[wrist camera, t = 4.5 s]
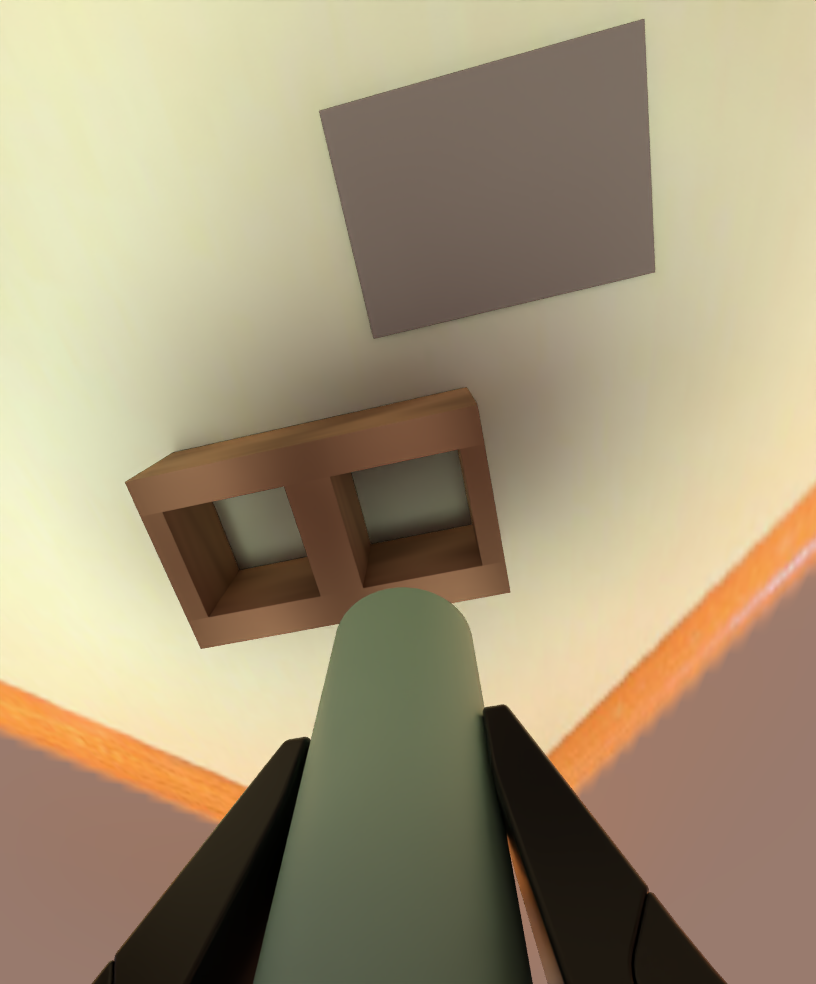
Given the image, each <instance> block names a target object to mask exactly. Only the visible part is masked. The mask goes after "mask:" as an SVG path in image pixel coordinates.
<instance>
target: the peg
mask: <svg viewBox="0 0 816 984" xmlns="http://www.w3.org/2000/svg"><path fill="white" fill-rule="evenodd" d="M483 709H484V702H483V697H482V691H481V685H480V680H479V674H478V668H477V662H476V657H475V651H474V645H473V640H472V634H471V631H470V628H469V625H468V623H467V621H466V620H465V618H464V617H463V615H462V614H461V612H460V611H459V610H458V609H457V608H456V607H455V606H454V605H452V604H451V603H450V602H449V601H447V600H446V599H444V598H443V597H441V596H439V595H436V594H434V593H432V592H429V591H426V590H422V589H417V588H408V587H397V588H389V589H385V590H381V591H377V592H375V593H372V594H370V595H368V596H366V597H364V598H362V599H361V600H359V601H358V602H356V603H355V604H354V605H353V606H352V607H351V608H350V609H349V610H348V611H347V612H346V614H345V615H344V616H343V618H342V620H341V621H340V624H339V626H338V628H337V632H336V636H335V641H334V645H333V649H332V653H331V657H330V662H329V666H328V670H327V674H326V678H325V683H324V687H323V691H322V695H321V699H320V704H319V708H318V712H317V716H316V720H315V725H314V729H313V733H312V737H311V741H310V746H309V750H308V754H307V758H306V762H305V767H304V771H303V775H302V779H301V783H300V788H299V792H298V796H297V800H296V804H295V809H294V813H293V817H292V821H291V825H290V830H289V834H288V838H287V842H286V846H285V851H284V855H283V859H282V863H281V867H280V872H279V876H278V880H277V884H276V888H275V893H274V897H273V901H272V905H271V909H270V914H269V918H268V922H267V926H266V930H265V935H264V939H263V943H262V947H261V951H260V956H259V960H258V964H257V968H256V972H255V977H254V981H253V984H533V982H532V977H531V971H530V965H529V959H528V954H527V948H526V942H525V937H524V931H523V925H522V919H521V914H520V908H519V902H518V897H517V891H516V886H515V879H514V874H513V868H512V862H511V857H510V851H509V845H508V839H507V834H506V828H505V824H504V820H503V816H502V812H501V808H500V805H499V801H498V796H497V792H496V787H495V783H494V778H493V774H492V769H491V764H490V758H489V752H488V745H487V739H486V732H485V726H484V720H483Z"/></svg>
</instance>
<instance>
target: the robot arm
mask: <svg viewBox="0 0 816 984" xmlns="http://www.w3.org/2000/svg"><path fill="white" fill-rule="evenodd" d="M483 720H484V726H485V732H486V739H487V745H488V752H489V758H490V764H491V769H492V774H493V778H494V783H495V787H496V792H497V796H498V801H499V805H500V808H501V812H502V816H503V820H504V824H505V828H506V834H507V839H508V845H509V850H510V855H511V859H512V863H513V866H514V870H515V874H516V877H517V881H518V884H519V888H520V891H521V895H522V898H523V901H524V905H525V908H526V911H527V915H528V918H529V922H530V925H531V928H532V932H533V935H534V939H535V942H536V946H537V949H538V952H539V956H540V959H541V962H542V966H543V969H544V973H545V976H546V980H547V983H548V984H727V983H726V982H725V980H724V979H723V978H722V977H721V976H720V975H719V974H718V972H717V971H716V970H715V969H714V968H713V967H712V966H711V964H710V963H709V962H708V961H707V959H706V958H705V957H704V956H703V955H702V953H701V952H700V951H699V950H698V948H697V947H696V946H695V945H694V944H693V942H692V941H691V940H690V939H689V937H688V936H687V935H686V934H685V933H684V931H683V930H682V929H681V928H680V927H679V925H678V924H677V923H676V921H675V920H674V919H673V918H672V916H671V915H670V914H669V913H668V911H667V910H666V909H665V907H664V906H663V905H662V903H661V902H660V901H659V900H658V898H657V897H656V896H655V895H654V893H651V892H649V889H648V886H647V885H646V883H645V882H644V881H643V880H642V878H641V877H640V876H639V874H638V873H637V872H636V871H635V869H634V868H633V867H632V865H631V864H630V863H629V862H628V860H627V859H626V858H625V856H624V855H623V854H622V853H621V851H620V850H619V849H618V847H617V846H616V845H615V844H614V843H613V841H612V840H611V839H610V837H609V836H608V835H607V833H606V832H605V831H604V829H603V828H602V827H601V826H600V824H599V823H598V822H597V820H596V819H595V818H594V817H593V815H592V814H591V813H590V811H589V810H588V809H587V808H586V806H585V805H584V804H583V802H582V801H581V800H580V799H579V797H578V796H577V795H576V793H575V792H574V791H573V790H572V788H571V787H570V786H569V784H568V783H567V782H566V781H565V779H564V778H563V777H562V775H561V774H560V773H559V772H558V770H557V769H556V768H555V766H554V765H553V764H552V763H551V761H550V760H549V759H548V757H547V756H546V755H545V754H544V752H543V751H542V750H541V748H540V747H539V746H538V745H537V743H536V742H535V741H534V739H533V738H532V737H531V736H530V734H529V733H528V732H527V730H526V729H525V728H524V727H523V725H522V724H521V723H520V721H519V720H518V719H517V718H516V716H515V715H514V714H513V712H512V711H511V710H510V709H509V707H507V706H506V705H497V706H490V707H485V708H484V709H483ZM310 741H311V740H310V739H309V738H308V737H301V738H295V739H289V740H287V741H285V742H284V743H283V744H282V745H281V746H280V748H279V749H278V750H277V751H276V753H275V754H274V755H273V756H272V758H271V759H270V760H269V761H268V763H267V764H266V765H265V766H264V768H263V769H262V770H261V772H260V773H259V774H258V775H257V777H256V778H255V779H254V780H253V782H252V783H251V784H250V785H249V787H248V788H247V789H246V790H245V792H244V793H243V794H242V795H241V797H240V798H239V799H238V800H237V802H236V803H235V804H234V805H233V807H232V808H231V809H230V811H229V812H228V813H227V814H226V816H225V817H224V818H223V819H222V821H221V822H220V823H219V824H218V826H217V827H216V828H215V829H214V831H213V832H212V833H211V835H210V836H209V837H208V838H207V840H206V841H205V842H204V843H203V845H202V846H201V847H200V848H199V850H198V851H197V852H196V853H195V855H194V856H193V857H192V858H191V860H190V861H189V862H188V864H187V865H186V866H185V867H184V868H183V870H182V871H181V872H180V873H179V875H178V876H177V877H176V878H175V880H174V881H173V882H172V884H171V885H170V886H169V887H168V889H167V890H166V891H165V892H164V894H163V895H162V896H161V897H160V899H159V900H158V901H157V903H156V904H155V905H154V906H153V908H152V909H151V910H150V911H149V913H148V914H147V915H146V916H145V918H144V919H143V920H142V922H141V923H140V924H139V925H138V926H137V928H136V929H135V930H134V932H133V933H132V934H131V935H130V936H129V938H128V939H127V940H126V941H125V943H124V944H123V945H122V946H121V948H120V949H119V950H118V951H117V953H116V955H115V958H114V961H113V960H112V961H110V962H109V963H108V964H107V965H106V967H105V968H104V969H103V970H102V971H101V973H100V974H99V975H98V976H97V978H96V979H95V980H94V981H93V983H92V984H253V981H254V977H255V972H256V968H257V964H258V960H259V956H260V951H261V947H262V943H263V939H264V935H265V930H266V926H267V922H268V918H269V914H270V909H271V905H272V901H273V897H274V893H275V888H276V884H277V880H278V876H279V872H280V867H281V863H282V859H283V855H284V851H285V846H286V842H287V838H288V834H289V830H290V825H291V821H292V817H293V813H294V809H295V804H296V800H297V796H298V792H299V788H300V783H301V779H302V775H303V771H304V767H305V762H306V758H307V754H308V750H309V746H310Z"/></svg>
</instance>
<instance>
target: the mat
mask: <svg viewBox="0 0 816 984" xmlns="http://www.w3.org/2000/svg"><path fill="white" fill-rule="evenodd" d="M319 113H320V117H321V121H322V125H323V129H324V134H325V138H326V142H327V146H328V150H329V155H330V159H331V163H332V167H333V171H334V175H335V180H336V184H337V188H338V192H339V196H340V200H341V205H342V209H343V213H344V217H345V221H346V226H347V230H348V234H349V238H350V242H351V246H352V251H353V255H354V259H355V263H356V267H357V272H358V276H359V280H360V284H361V288H362V292H363V297H364V301H365V305H366V309H367V313H368V317H369V322H370V326H371V330H372V334H373V338H378V337H383V336H387V335H391V334H395V333H400V332H404V331H408V330H412V329H417V328H421V327H425V326H429V325H433V324H438V323H442V322H446V321H450V320H455V319H459V318H463V317H467V316H472V315H476V314H480V313H484V312H489V311H493V310H497V309H501V308H505V307H510V306H514V305H518V304H522V303H527V302H531V301H535V300H539V299H544V298H548V297H552V296H556V295H560V294H565V293H569V292H573V291H577V290H582V289H586V288H590V287H594V286H599V285H603V284H607V283H611V282H616V281H620V280H624V279H628V278H632V277H637V276H641V275H645V274H649V273H654V272H655V256H654V232H653V209H652V185H651V162H650V138H649V115H648V92H647V68H646V45H645V21H644V19H642V20H638V21H635V22H631V23H627V24H624V25H620V26H617V27H613V28H610V29H606V30H603V31H599V32H596V33H592V34H589V35H585V36H582V37H578V38H574V39H571V40H567V41H564V42H560V43H557V44H553V45H550V46H546V47H543V48H539V49H536V50H532V51H529V52H525V53H521V54H518V55H514V56H511V57H507V58H504V59H500V60H497V61H493V62H490V63H486V64H483V65H479V66H475V67H472V68H468V69H465V70H461V71H458V72H454V73H451V74H447V75H444V76H440V77H437V78H433V79H430V80H426V81H422V82H419V83H415V84H412V85H408V86H405V87H401V88H398V89H394V90H391V91H387V92H384V93H380V94H377V95H373V96H369V97H366V98H362V99H359V100H355V101H352V102H348V103H345V104H341V105H338V106H334V107H331V108H327V109H324V110H320V111H319Z"/></svg>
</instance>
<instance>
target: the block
mask: <svg viewBox="0 0 816 984" xmlns="http://www.w3.org/2000/svg"><path fill="white" fill-rule="evenodd" d="M454 450H458V455H459V460H460V466H461V471H462V476H463V481H464V486H465V491H466V496H467V501H468V506H469V511H470V516H471V522H472V525H467V526H461V527H456V528H451V529H446V530H441V531H436V532H431V533H426V534H421V535H416V536H411V537H406V538H400V539H395V540H390V541H385V542H380V543H375V544H371V542H370V539H369V535H368V531H367V528H366V524H365V521H364V517H363V514H362V510H361V507H360V503H359V499H358V496H357V492H356V489H355V485H354V482H353V478H352V475H351V472H354V471H359V470H364V469H369V468H373V467H378V466H383V465H387V464H392V463H397V462H402V461H406V460H411V459H416V458H421V457H425V456H430V455H435V454H439V453H444V452H449V451H454ZM125 484H126V486H127V488H128V490H129V492H130V495H131V497H132V499H133V501H134V503H135V506H136V508H137V510H138V512H139V514H140V517H141V519H142V521H143V523H144V525H145V527H146V530H147V532H148V534H149V536H150V538H151V541H152V543H153V545H154V547H155V549H156V552H157V554H158V556H159V558H160V560H161V562H162V565H163V567H164V569H165V571H166V573H167V576H168V578H169V580H170V582H171V584H172V587H173V589H174V591H175V593H176V595H177V598H178V600H179V602H180V604H181V606H182V608H183V611H184V613H185V615H186V617H187V619H188V622H189V624H190V626H191V628H192V630H193V633H194V635H195V637H196V639H197V641H198V644H199V646H200V648H201V649H203V648H209V647H214V646H220V645H225V644H231V643H236V642H242V641H247V640H253V639H258V638H263V637H269V636H274V635H280V634H285V633H291V632H296V631H302V630H307V629H313V628H318V627H324V626H329V625H335V624H340V621H341V620H342V618H343V616H344V615H345V614H346V612H347V611H348V610H349V609H350V608H351V607H352V606H353V605H354V604H355V603H356V602H358V601H359V600H361V599H362V598H364V597H366V596H368V595H370V594H372V593H375V592H377V591H381V590H385V589H389V588H397V587H408V588H417V589H422V590H426V591H429V592H432V593H434V594H436V595H439V596H441V597H443V598H444V599H446V600H447V601H449V602H450V603H455V602H460V601H466V600H471V599H477V598H482V597H488V596H493V595H499V594H504V593H510V587H509V581H508V576H507V570H506V564H505V559H504V553H503V547H502V541H501V536H500V530H499V524H498V519H497V513H496V507H495V502H494V496H493V490H492V484H491V479H490V473H489V467H488V462H487V456H486V450H485V445H484V439H483V433H482V427H481V422H480V416H479V410H478V405H477V403H476V402H475V400H474V398H473V397H472V395H471V393H470V392H469V390H468V388H467V387H465V388H460V389H456V390H451V391H447V392H442V393H438V394H434V395H429V396H425V397H420V398H416V399H411V400H407V401H402V402H398V403H393V404H389V405H384V406H380V407H375V408H371V409H366V410H362V411H357V412H353V413H348V414H344V415H339V416H335V417H330V418H326V419H321V420H317V421H312V422H308V423H303V424H299V425H294V426H290V427H285V428H281V429H277V430H272V431H268V432H263V433H259V434H254V435H250V436H245V437H241V438H236V439H232V440H227V441H223V442H218V443H214V444H209V445H205V446H200V447H196V448H191V449H187V450H182V451H178V452H173V453H171V454H170V455H168V456H166V457H165V458H163V459H162V460H160V461H158V462H157V463H155V464H153V465H152V466H150V467H149V468H147V469H145V470H144V471H142V472H140V473H139V474H137V475H136V476H134V477H132V478H131V479H129V480H127V481H126V482H125ZM283 486H284V488H285V491H286V494H287V497H288V500H289V503H290V506H291V509H292V512H293V515H294V518H295V521H296V524H297V527H298V530H299V533H300V536H301V539H302V542H303V545H304V548H305V551H306V554H307V557H304V558H299V559H294V560H289V561H284V562H279V563H273V564H268V565H263V566H258V567H253V568H248V569H243V570H239V568H238V565H237V563H236V560H235V558H234V555H233V553H232V550H231V548H230V545H229V543H228V540H227V537H226V535H225V532H224V530H223V527H222V525H221V522H220V520H219V517H218V515H217V512H216V510H215V507H214V505H213V501H217V500H222V499H227V498H231V497H236V496H241V495H246V494H250V493H255V492H260V491H265V490H269V489H274V488H279V487H283Z"/></svg>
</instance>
